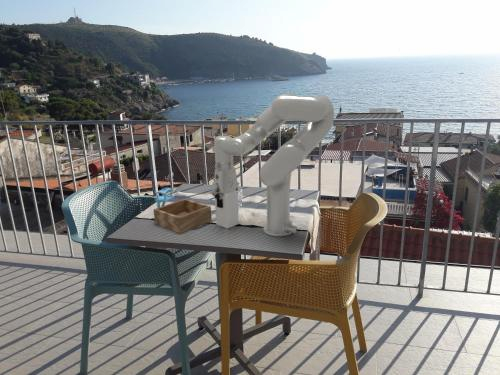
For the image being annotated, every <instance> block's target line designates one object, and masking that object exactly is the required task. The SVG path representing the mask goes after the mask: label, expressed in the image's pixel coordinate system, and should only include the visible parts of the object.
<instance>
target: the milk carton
mask: <svg viewBox="0 0 500 375" xmlns="http://www.w3.org/2000/svg"><path fill="white" fill-rule="evenodd" d="M216 193H217V192H216ZM219 196H220V193H219ZM238 196H239V195H238V190H237V191H236V189H235V190H233V191H230V192H228V193H225V194H223V195H222V199H223V208H219V207H217V200H216V198H215V197H214V209H215V224H216V225H217V226H219V227H221V228H224V229H230V228H232V227H234V226H237V225H239V224H240V221H239V219H240V218H239V199H238ZM216 225H215V226H216Z"/></svg>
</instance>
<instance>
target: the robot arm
mask: <svg viewBox="0 0 500 375" xmlns="http://www.w3.org/2000/svg"><path fill="white" fill-rule="evenodd" d="M334 120H335V110H334V106H333V103H332V101H331V100H330V98H329V97H327V96H325V95H315V96H312V97H308V96H296V95H295V94H293V93H284V94H280V95H278V96H277V97H275V98H274V100H273V101H272V103H271V105H270V106H268V107H267V108H266V109H265V110H264V111H262V112H261V113H260V114H259V115H258V116H257V118H256V121H255V122H254V124H253V125H251V127H249V129H248V130H246V131H245V132H243V133H242V134H240V135H238V136H236V137H233V138H232V136H229V135H218V136H216V137H214V140H213V143H214V157H215V159H214V161H215V165H214V179H213V180H214V182H213V185H214V187H213V189H212V190H211V191H210V193H211V194H212V196H213V197H214V199H215V198H216V200H217V207H219V208H223V199H222V195H223V194H225V193H228V192H230V191H233V190H235V189H236V191H237V192H238V189H239V186H240V182H239V181H238V176H237V172H236V168H235V166H234V156H235V157H241V156H243V155H245V154H247V153H249V152H250V151H252V150H253V149H255V148H256V146H257V147H258V145H259V144H260V143H262V142H263V141H264V140H265V139H267V137H269V136H271V135H272V134H273V133H274V132H276V131H277V130H278V129H279V128H280V127H281V126H282V125H284V124H285V123H286V122H288V121H295V122H296V121H297V122H307V123H306V124H305V125H304V126H303V127H302V128H301V130H299V131H298V132H297V133H296V135H294V136H293V137H292V138H291V139H289V140H288V141H286V142H284V144H282V145H281V146H280V147H279V148H278V149H277V150H276V151H275V152H274V153H273V154H272V155H271V157H269V158H268V160H266V162H264V163H263V164H262V166H261V168H260V169H259V173H258V175H259V180H260V182H261V184H263V185H265V186H266V225H264V226H263V232H264V234H266V235H269V236H272V237H285V236H290V235H291V234H293V233H297V229H298V226H297V225H293V221H292V220H291V207H290V206H291V179H292V178H291V177H292V173H293V172H294V171H295V170H296V169H297V168H298V167H299V166H300V165H301V164H302V163H303V162H304V160H306V158H307V157H308V155H309V154H310V153H311V152H312V151H313V150H314V149H315V148H316V147H317V146H318V145H319V144H320V143H321V142H322V141H323V140H324V138H326V136H327V135H328V134H329V132H330V131H331V129H332V127H333V125H334ZM216 192H217V193H216ZM219 193H220V196H219Z"/></svg>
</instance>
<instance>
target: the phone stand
mask: <svg viewBox="0 0 500 375" xmlns="http://www.w3.org/2000/svg"><path fill="white" fill-rule="evenodd" d="M154 193H155V196H156V198H154V201H155V202H156V206H157V207H156V208H159V207H162V206H165V205H166V203H168V202H169V201H170V200H173V199H175V196H174V195H173V189H172V188H171V187H164V188H161V189H159V190H158V191H155V192H154ZM169 193H170V194H169ZM158 194H161V196H159V195H158ZM168 194H169V195H168Z"/></svg>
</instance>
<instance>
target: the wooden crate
mask: <svg viewBox="0 0 500 375" xmlns="http://www.w3.org/2000/svg"><path fill="white" fill-rule="evenodd" d="M161 206H162V205H161ZM161 206H160V207H159V208H157V207H156V208H154V209H153V215H154V216H153V218H154V224H155V225H156V226H160V227H162V228H164V229H168V230H169V231H173V232H175V233H179V234H181V235H182V234H183V233H184V234H185V233H186V232H188V231H191V230H194V229H195V228H199V227H200V226H204V225H205V224H207V223H210V222H212V221H213V219H212V218H213V217H212V206H211V205H208V204H205V203H201V202H197V201H194V200H190V199H186V198H182V199H180V200H176V201H174V202H172V203H168V204H165V205H164V206H162V207H161Z"/></svg>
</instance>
